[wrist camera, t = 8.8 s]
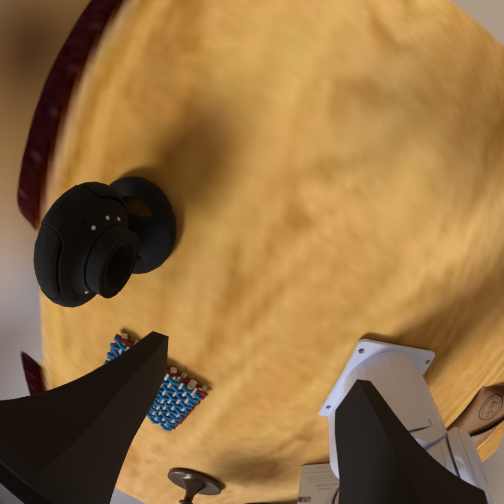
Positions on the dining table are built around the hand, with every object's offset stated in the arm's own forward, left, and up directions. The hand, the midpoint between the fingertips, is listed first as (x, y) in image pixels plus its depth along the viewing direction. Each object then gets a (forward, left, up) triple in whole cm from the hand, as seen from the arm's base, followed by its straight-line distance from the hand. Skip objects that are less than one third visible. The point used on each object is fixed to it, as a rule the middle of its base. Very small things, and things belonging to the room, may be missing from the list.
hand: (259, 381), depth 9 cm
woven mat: (-16, +9, -11) cm, 22 cm away
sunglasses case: (-16, -30, -11) cm, 36 cm away
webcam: (+1, +12, -11) cm, 16 cm away
